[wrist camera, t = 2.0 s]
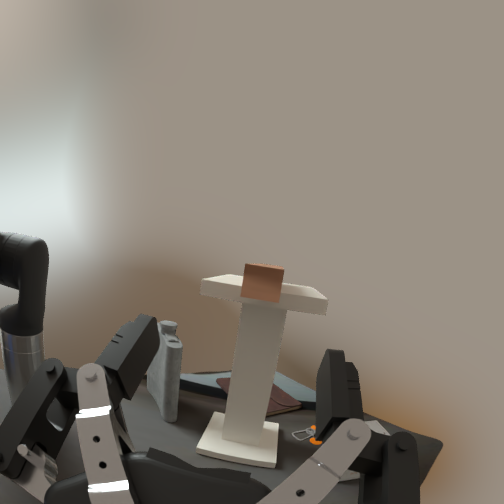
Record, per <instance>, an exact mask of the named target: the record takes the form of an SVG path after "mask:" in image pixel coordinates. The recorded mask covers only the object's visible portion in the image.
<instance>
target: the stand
mask: <svg viewBox="0 0 504 504" xmlns="http://www.w3.org/2000/svg"><path fill="white" fill-rule="evenodd" d="M242 282H243V276H237V275H231V274H228V275H222V276H216V277H211V278H205V279H202V282H201V289H200V295H205V296H210V297H215V298H221V299H226V300H232V301H237V302H242V308H241V315H240V321H239V327H238V334H237V341H236V347H235V353H234V360H233V366H232V372H231V379H230V385H229V392H228V398H227V405H226V411H225V414H223V413H219V412H214V414H213V416H212V418H211V420H210V422H209V424H208V426H207V428H206V430H205V432H204V434H203V436H202V438H201V440H200V442H199V443H198V445H197V447H196V453H198V454H202V455H206V456H210V457H214V458H218V459H222V460H227V461H232V462H237V463H242V464H248V465H254V466H260V467H267V468H275V465H276V458H277V442H278V425H279V423H272V422H265V417H266V412H267V408H268V403H269V399H270V394H271V390H272V385H273V380H274V375H275V371H276V366H277V361H278V356H279V350H280V345H281V340H282V335H283V330H284V324H285V318H286V313H287V310H292V311H298V312H305V313H312V314H319V315H326V310H327V305H328V299H327V298H326V297H324V296H323V295H322V294H320V293H319V292H318V291H317V290H315V289H314V288H313V287H307V286H300V285H293V284H287V283H282V287H281V293H280V299H279V303H276V302H270V301H263V300H257V299H251V298H246V297H240V295H241V289H242Z"/></svg>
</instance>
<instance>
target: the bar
mask: <svg viewBox="0 0 504 504" xmlns="http://www.w3.org/2000/svg"><path fill="white" fill-rule="evenodd" d="M283 275H284V269H283V267H281V266H275V265H268V264H245V270H244V276H243V282H242V289H241V295H240V297H246V298H251V299H257V300H263V301H270V302H276V303H279V299H280V293H281V287H282V280H283Z"/></svg>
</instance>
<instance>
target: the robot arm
mask: <svg viewBox="0 0 504 504" xmlns="http://www.w3.org/2000/svg"><path fill="white" fill-rule="evenodd" d="M48 265H49V254H48V248H47V245H46V243H45V241H43V240H42V239H40V238H37V237H32V236H27V235H22V234H17V233H9V232H0V284H2V285H5V286H8V287H11V288H14V289H17V290H19V300H18V304H13V305H8V306H5V307H3V308H2V309H1V310H0V339H1V348H2V356H3V362H4V368H5V374H6V379H7V384H8V389H9V394H10V398H11V402H12V408H11V409H10V411H9V413H8V414H7V416H6V418H5V419H4V421H3V423H2V424H1V426H0V473H1V474H3V475H4V476H5V477H6V478H8V479H9V480H11V481H13V482H14V483H16V484H18V485H20V486H21V487H22V488H24V489H25V490H26V491H27V492H29V493H30V494H31V495H33V496H34V497H36V498H37V499H38V500H40V501H41V502H43V503H44V504H318V503H319V502H320V501H321V500H322V499H323V498H324V497H325V496H326V495H327V494H328V493H329V492H330V491H331V489H332V488H333V487H334V486H335V485H336V484H337V483H338V481H339V480H340V479H341V476H342V475H343V473H344V472H345V471H346V470H347V469H348V470H351V471H355V472H359V473H360V482H359V497H358V504H420V481H419V465H418V453H417V444H416V440H415V439H414V437H413V436H412V435H411V434H409V433H407V432H397V433H395V434H393V435H392V436H389V435H385V434H381V433H377V432H375V431H373V430H371V429H370V427H369V426H368V424H367V423H366V422H365V421H364V417H363V408H362V399H361V391H360V384H359V376H358V371H357V369H356V368H355V366H354V365H353V363H352V362H345V356H344V351H343V350H332V349H327V350H326V352H325V355H324V357H323V360H322V362H321V365H320V368H319V370H318V373H317V381H316V431H315V441H322V446H321V447H320V448H319V449H318V450H317V451H316V452H315V453H314V454H313V455H312V456H311V457H310V458H309V459H307V460H306V461H305V462H304V463H303V464H302V465H301V466H300V467H299V468H298V469H297V470H296V471H295V472H294V473H292V474H291V475H290V476H289V477H288V478H287V479H286V480H285V481H283V482H282V483H281V484H280V485H279V486H278V487H276V488H275V489H274V490H273V491H271V490H270V489H269V488H268V487H267V486H265V485H264V484H262V483H261V482H259V481H257V480H255V479H253V478H250V474H251V473H247V472H241V471H236V470H230V469H225V468H196V467H194V466H192V465H190V464H188V463H186V462H185V461H183V460H181V459H179V458H177V457H176V456H174V455H171V454H168V453H165V452H162V451H159V450H156V449H154V448H151V447H150V448H149V451H148V452H136V451H135V448H134V446H133V443H132V441H131V439H130V437H129V434H128V430H127V427H126V423H125V419H124V415H123V411H122V407H121V404H120V402H121V400H122V398H125V399H128V400H130V401H131V399H132V397H133V395H134V393H135V391H136V390H137V388H138V386H139V384H140V382H141V380H142V379H143V377H144V375H145V373H146V371H147V370H148V368H149V366H150V364H151V362H152V361H153V359H154V357H155V355H156V354H157V352H158V350H159V346H160V336H159V331H158V325H157V320H156V318H155V317H152V316H148V315H144V314H140V315H139V316H138V317H137V318H136V320H135V321H134V322H131V321H129V322H128V323H126V324H125V325H123V326H122V327H121V328H120V329H119V330H118V332H117V333H116V335H115V336H114V337H113V338H112V340H111V341H110V342H109V344H108V345H107V346H106V348H105V349H104V350H103V352H102V353H101V355H100V356H99V357H98V359H97V360H96V361H95V363H89V364H86V365H84V366H82V367H81V368H80V369H75V368H68V367H64V366H63V364H62V362H61V361H60V360H58V359H56V358H49V359H47V360H45V354H44V341H43V318H44V312H45V295H46V284H47V275H48V267H49V266H48ZM54 398H55V399H54ZM51 403H52V404H51ZM79 411H80V413H79ZM75 419H76V423H77V430H78V436H79V442H80V448H81V453H82V458H83V463H84V467H85V472H83V473H80V474H78V475H75V476H73V477H70V478H67V479H64V480H61V481H59V482H56V477H57V476H58V471H57V465H56V462H55V459H56V457H57V455H58V453H59V450H60V448H61V446H62V444H63V442H64V440H65V438H66V436H67V434H68V432H69V430H70V428H71V426H72V424H73V423H74V421H75Z"/></svg>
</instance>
